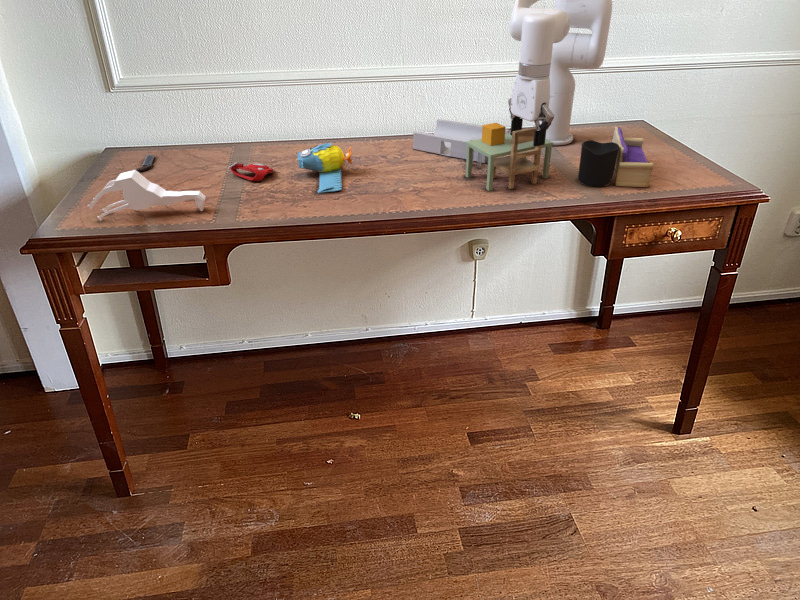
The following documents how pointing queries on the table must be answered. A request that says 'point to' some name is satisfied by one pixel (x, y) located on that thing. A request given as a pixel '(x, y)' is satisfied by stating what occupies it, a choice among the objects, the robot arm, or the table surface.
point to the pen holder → (597, 163)
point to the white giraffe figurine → (144, 194)
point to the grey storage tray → (451, 140)
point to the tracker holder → (256, 168)
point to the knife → (146, 163)
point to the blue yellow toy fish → (325, 165)
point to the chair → (520, 157)
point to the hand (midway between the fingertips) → (527, 139)
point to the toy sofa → (631, 161)
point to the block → (493, 134)
